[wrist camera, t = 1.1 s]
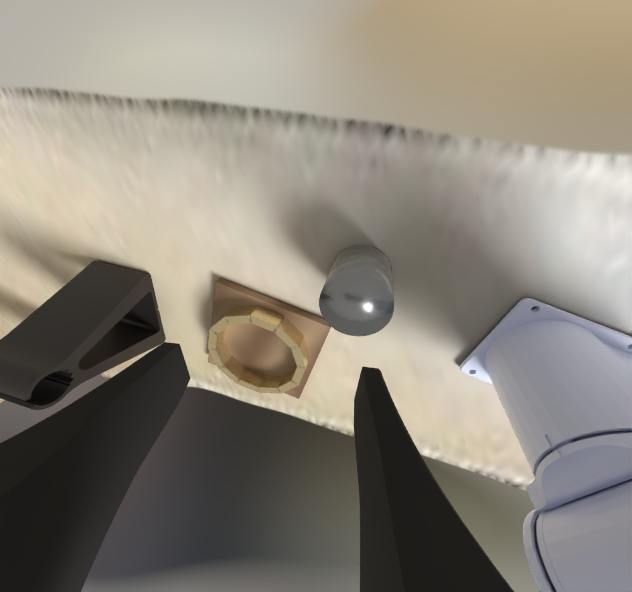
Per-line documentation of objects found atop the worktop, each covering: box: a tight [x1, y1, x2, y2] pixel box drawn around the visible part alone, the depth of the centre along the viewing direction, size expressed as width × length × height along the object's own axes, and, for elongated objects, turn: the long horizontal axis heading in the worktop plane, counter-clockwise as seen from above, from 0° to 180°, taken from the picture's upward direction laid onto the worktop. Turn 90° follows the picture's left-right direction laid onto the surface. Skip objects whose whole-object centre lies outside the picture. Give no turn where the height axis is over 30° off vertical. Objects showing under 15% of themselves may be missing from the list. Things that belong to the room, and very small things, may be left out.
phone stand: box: [0, 261, 165, 410], centre depth 23 cm, size 9×6×12 cm, turn 172°
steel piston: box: [319, 245, 394, 336], centre depth 18 cm, size 5×5×5 cm
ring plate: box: [208, 278, 331, 399], centre depth 25 cm, size 11×11×2 cm
